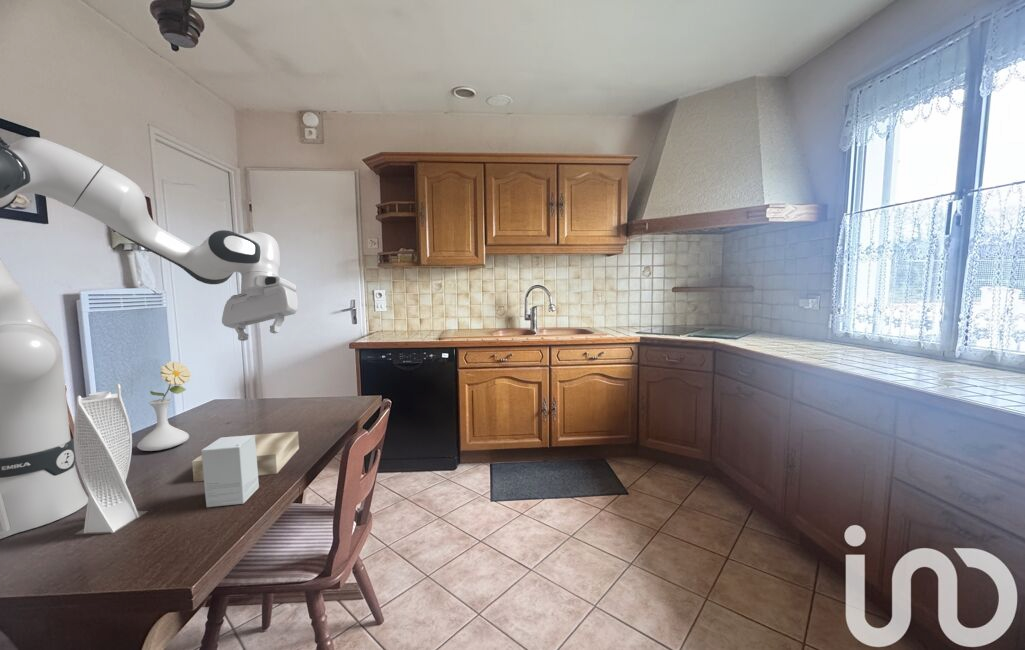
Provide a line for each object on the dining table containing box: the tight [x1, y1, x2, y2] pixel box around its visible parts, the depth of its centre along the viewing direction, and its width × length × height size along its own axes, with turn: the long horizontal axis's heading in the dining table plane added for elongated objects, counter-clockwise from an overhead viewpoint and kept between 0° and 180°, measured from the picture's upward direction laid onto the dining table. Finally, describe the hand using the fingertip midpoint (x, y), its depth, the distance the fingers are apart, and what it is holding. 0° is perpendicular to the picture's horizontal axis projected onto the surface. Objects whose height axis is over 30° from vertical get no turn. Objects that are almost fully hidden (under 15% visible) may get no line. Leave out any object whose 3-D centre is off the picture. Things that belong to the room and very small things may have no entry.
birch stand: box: [191, 431, 300, 482], centre depth 100 cm, size 18×16×5 cm
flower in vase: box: [136, 361, 192, 452], centre depth 112 cm, size 13×11×25 cm
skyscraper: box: [73, 383, 148, 535], centre depth 73 cm, size 8×8×28 cm
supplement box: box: [200, 434, 260, 508], centre depth 83 cm, size 7×7×13 cm
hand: (258, 336), depth 100 cm, fingers open, 8 cm apart
